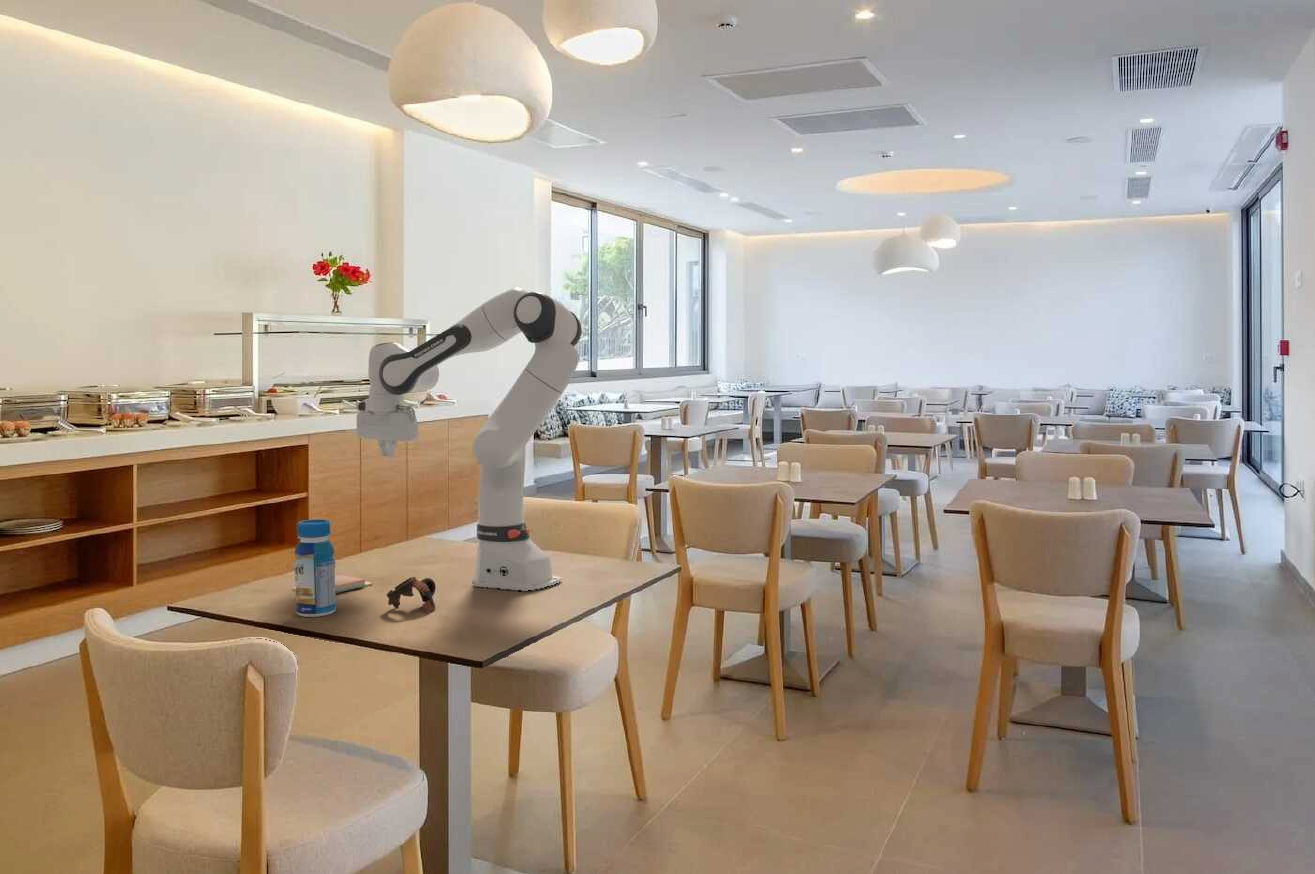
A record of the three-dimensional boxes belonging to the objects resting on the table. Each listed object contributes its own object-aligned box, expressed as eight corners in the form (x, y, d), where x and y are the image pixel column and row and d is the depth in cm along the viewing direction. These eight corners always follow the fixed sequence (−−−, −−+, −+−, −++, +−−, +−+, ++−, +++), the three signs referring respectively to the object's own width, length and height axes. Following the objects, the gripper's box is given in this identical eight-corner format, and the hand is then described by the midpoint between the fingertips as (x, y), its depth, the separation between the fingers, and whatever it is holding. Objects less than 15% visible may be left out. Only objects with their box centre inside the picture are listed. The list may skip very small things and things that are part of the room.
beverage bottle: (336, 616, 211) (333, 523, 210) (294, 619, 209) (291, 525, 207) (337, 606, 219) (334, 517, 218) (296, 609, 217) (293, 519, 215)
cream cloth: (372, 584, 241) (372, 582, 241) (325, 595, 229) (324, 594, 229) (340, 578, 248) (340, 577, 248) (292, 589, 236) (292, 587, 236)
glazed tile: (364, 579, 238) (340, 574, 243) (337, 585, 231) (313, 580, 236) (365, 585, 238) (340, 581, 243) (337, 592, 232) (313, 587, 236)
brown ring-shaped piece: (423, 619, 211) (402, 587, 210) (394, 633, 215) (373, 601, 214) (453, 593, 221) (434, 562, 220) (425, 607, 226) (406, 576, 225)
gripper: (423, 405, 256) (424, 458, 257) (370, 403, 267) (371, 454, 268) (404, 406, 251) (406, 460, 252) (351, 404, 262) (353, 456, 263)
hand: (388, 457), depth 260 cm, fingers closed
